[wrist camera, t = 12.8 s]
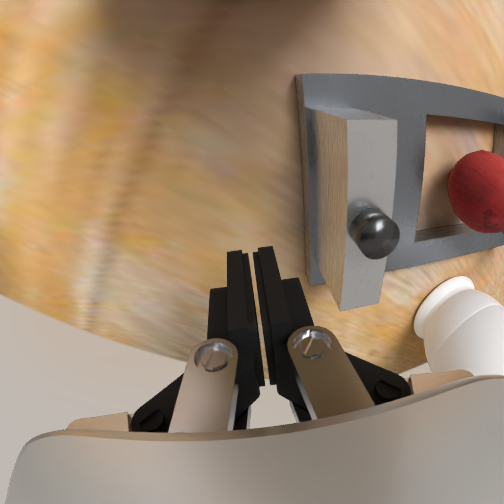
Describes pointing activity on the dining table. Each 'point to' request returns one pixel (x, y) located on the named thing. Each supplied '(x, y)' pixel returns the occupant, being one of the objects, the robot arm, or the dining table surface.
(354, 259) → the door
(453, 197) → the onion
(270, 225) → the dining table surface
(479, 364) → the jar
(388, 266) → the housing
